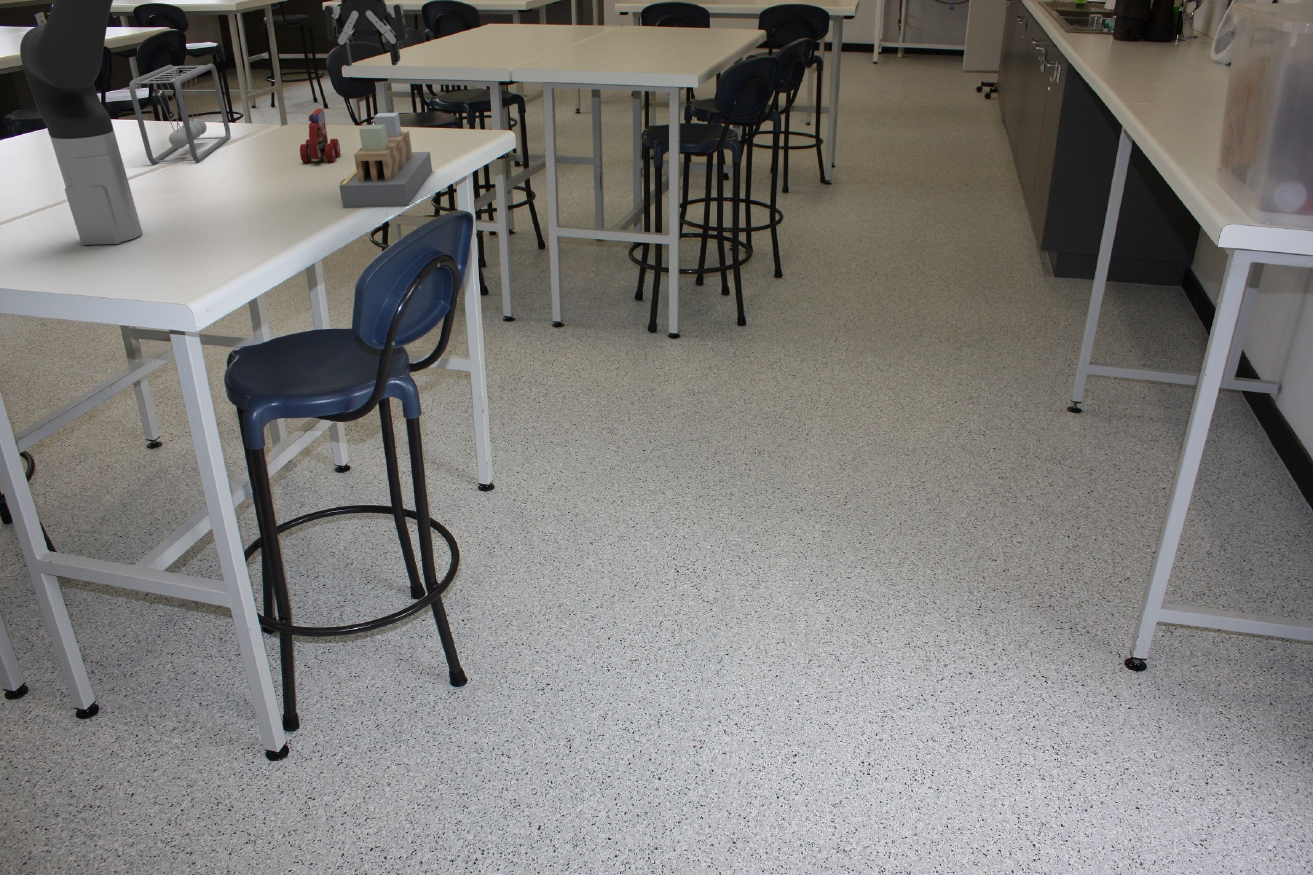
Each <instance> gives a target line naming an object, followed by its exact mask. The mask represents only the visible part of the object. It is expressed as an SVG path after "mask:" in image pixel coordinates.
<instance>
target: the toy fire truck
mask: <svg viewBox="0 0 1313 875" xmlns="http://www.w3.org/2000/svg"><path fill="white" fill-rule="evenodd" d="M325 116H326V115H325V110H324V109H323V108H316V109H315V110H314V111H313V112H312V113H311V114H309V115H308V122H310V123H309V124H308V139H306V140H305V143H301V144H300V145H299V155H300V160H301V162H302V163H303V164H311V162H312V160H323V159H324V157H325V160H326V161H327V163H334V162H336V158H339V157H340V156H341V146H340V142H339V139H338V138H330V140H329V139H328V133H327V126H326V117H325Z"/></svg>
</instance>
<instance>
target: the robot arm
mask: <svg viewBox="0 0 1313 875" xmlns="http://www.w3.org/2000/svg"><path fill="white" fill-rule="evenodd" d="M340 1H341V2H340V6H339V5H336V6H335V5H334V4H329V5H326V6H324V7H323V8H324V16H325V17H324V18H325V26H326V34H327V35H326V36H327V40H328V41H330V42H334V43H336V44H338V45H339V46H338V47H339V52H340V57H341V61H342V63H343V64H345V66H346V67H351V66H353V59H352V53H351V47H350V46H351V45H350V43H348V42H349V41H350V37H352V34H353V33H354V31H355V30H356V31H357V32H359V31H360V32H361V31H365V30H366V31H373V32H374V31H376V30H378V31H379V32H380V33H381V34H382V35H383V36H385V38H386V39H387V40H388V41H389V44H388V48H389V54H390V62H391V66H397V65H398V63H399V62H400V61H401V52H400V47H399V44H400V42H401V41H404V40H405V39H407V38H408V37H409V35H408V29H407V28H408V27H407V24H406V23H407V22H406V19H405V18H406V17H405V14H404V13H405V12H404V8H403V5H402V4H401V3H396V4H391V5H387V4H386V3H385V2H386V1H385V0H340ZM113 3H114V0H53V3H52V7H51V10H50V12H49V15H48V17H47V20H46V22H45V24H43V25H42V24H41V25H38V26H37V25H36V26H35V27H33V28H30V29H28V31H27V32H26V33H25V34H24V35H23V37H22V39H21V42H20V47H19V53H20V59H21V65H22V68H23V71H24V74H25V78H26V80H27V83H28V86H29V90H30V92H31V95H32V98H33V100H34V102H35V103H34V104H35V106H36V108H37V111H38V114H39V116H40V117H41V120H42V121H43V123H44V124H45V127H46V129H47V132H48V135H49V138H50V140H51V144H52V147H53V151H54V154H55V158H56V160H57V164H58V167H59V169H60V170H59V171H60V173H61V177H62V180H63V183H64V187H65V188H64V193H65V195H66V199H67V201H68V205H69V208H70V211H71V215H72V218H73V221H74V224H75V228H76V230H77V233H78V236H79V241H80V243H81V245H82V246H84V245H87V246H89V245H92V246H93V245H118V244H121V243H123V242H127V241H130V240H133V239H136V238H139V237H140V236H142V235H143V230H142V225H141V222H140V219H139V215H138V211H137V208H136V205H135V201H134V198H133V197H134V196H133V193H132V189H131V186H130V183H129V179H128V175H127V173H126V169H125V168H126V167H125V165H124V161H123V158H122V155H121V151H120V146H119V144H118V140H117V136H116V133H115V130H114V127H113V126H114V125H113V122H112V119H111V116H110V114H109V112H108V111H107V109H106V108H105V107H104V105H103V104H102V102H101V100H100V97H99V95H98V93H97V89H96V86H95V83H94V82H95V81H96V79H98V76H99V74H100V73H101V72H100V71H101V69H102V68H101V67H102V63H103V62H102V61H103V55H104V51H105V50H104V49H105V48H104V47H105V44H106V35H107V30H108V29H107V28H108V23H109V17H110V12H111V8H112V5H113ZM388 12H389V13H390V15H391V17H392V18H394V19H395V23H396V28H397V29H396V30H397V34H396V33H395V32H394V30H393V29H392V28H391V26H390V25H389V24H388V22H387V21H385V18H386V17H387V14H388ZM340 14H341V16H343V17H344V19H345V20H346V22H345V24H344V27H343V28H342V31H341V33H340V34H338V28H337V27H338V26H337V19H338V18H339V16H340Z"/></svg>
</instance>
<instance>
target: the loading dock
mask: <svg viewBox="0 0 1313 875" xmlns="http://www.w3.org/2000/svg"><path fill="white" fill-rule="evenodd" d="M432 172H433V167H432V157H431V151H412V156H411V158H410V159H409V160H408V161H407V162H406V163H405V165H404V166H403V167H402V168H401V169H400V170H399V172H398V173H397V174H396V175H395V176H394V178H393V179H392V180H391V181H385V175H384V174H383V175H382V176H381V178H380V179H379V180H378V181H372V179H371V175H370V176H369V177H368V178H367V179H366V180H365V181H363V182H358V176H357V169H356V168H355V170H354V171H352V172H351V173H350V174H349V176H347V177H346V178H344V179H343V180H341V182H340V185H339V191H340V198H341V204H342V208H364V207H366V208H367V207H369V208H371V207H402V206H403V207H407V206H409V204H410V203H411V202H412V200H413V199H414V197H415V196H416V195H417V193H418V192H419V190H420V189H421V188H422V186H423V185H424V183H425V182H426V180H427V179H428V178H429V176H430V175H431V173H432Z"/></svg>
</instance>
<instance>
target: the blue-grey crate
mask: <svg viewBox="0 0 1313 875" xmlns="http://www.w3.org/2000/svg"><path fill="white" fill-rule="evenodd" d="M373 118H374V125H386V132H387V137H398V136H399V135H400V134H401V131H402V128H401V123H400V122H401V120H400V114H399V112H380V113H379V112H378V113H377V114H375V115H374V117H373Z"/></svg>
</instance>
